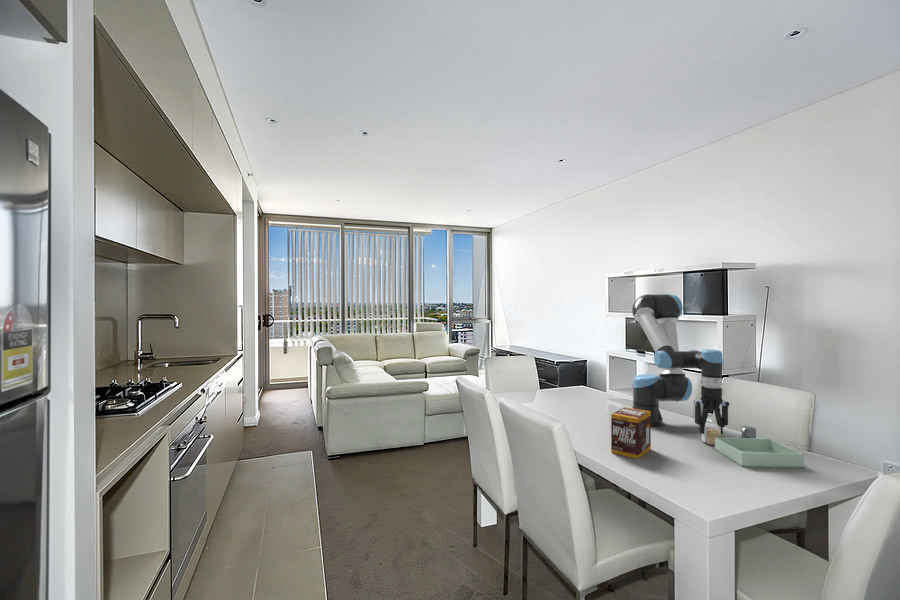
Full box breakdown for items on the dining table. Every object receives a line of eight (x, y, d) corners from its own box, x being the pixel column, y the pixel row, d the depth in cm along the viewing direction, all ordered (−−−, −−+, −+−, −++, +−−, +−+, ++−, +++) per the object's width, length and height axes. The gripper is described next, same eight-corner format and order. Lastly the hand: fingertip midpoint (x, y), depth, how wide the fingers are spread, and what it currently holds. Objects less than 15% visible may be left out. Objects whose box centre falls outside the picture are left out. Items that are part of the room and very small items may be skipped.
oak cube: (702, 440, 180) (702, 428, 180) (714, 440, 180) (714, 429, 180) (708, 444, 175) (708, 432, 175) (721, 444, 175) (720, 432, 175)
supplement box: (610, 453, 166) (610, 413, 167) (625, 443, 178) (625, 406, 178) (637, 459, 159) (637, 418, 159) (651, 449, 171) (651, 410, 171)
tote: (714, 449, 170) (714, 437, 170) (770, 451, 169) (770, 438, 169) (741, 466, 153) (741, 452, 153) (803, 468, 151) (803, 454, 151)
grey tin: (738, 442, 179) (738, 426, 179) (751, 442, 178) (751, 426, 178) (746, 446, 174) (746, 429, 174) (759, 446, 173) (759, 429, 173)
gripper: (694, 388, 174) (693, 444, 174) (739, 388, 173) (738, 445, 173) (685, 384, 181) (684, 437, 182) (728, 384, 180) (727, 438, 181)
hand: (711, 441), depth 178 cm, fingers closed on oak cube, 5 cm apart
